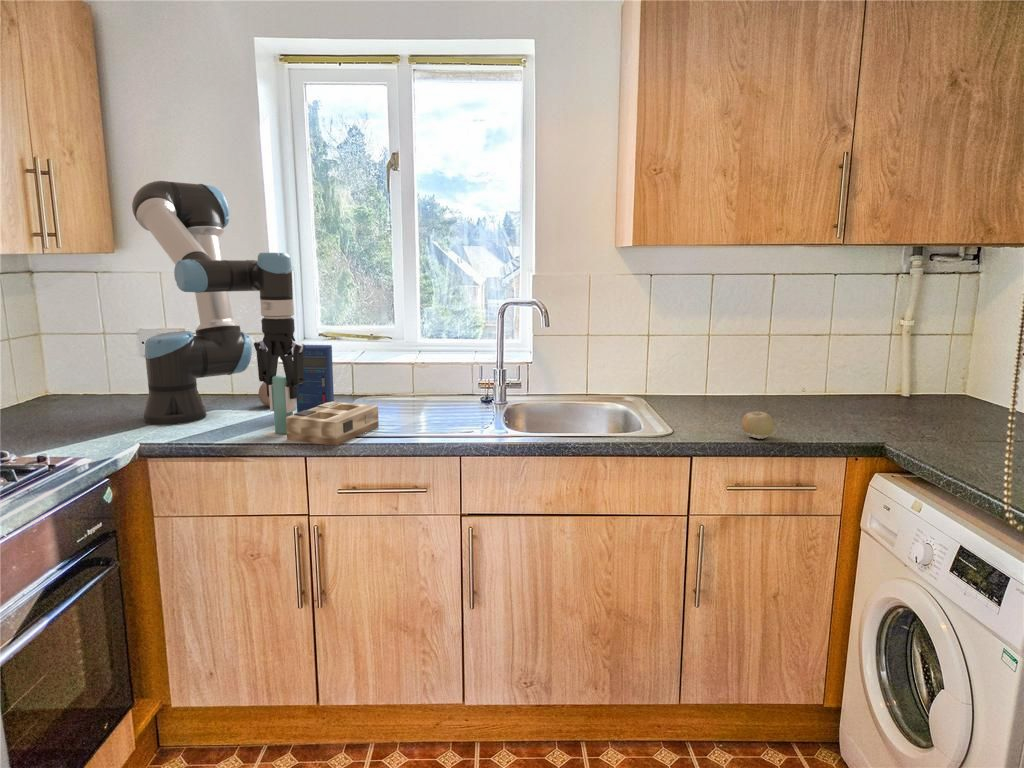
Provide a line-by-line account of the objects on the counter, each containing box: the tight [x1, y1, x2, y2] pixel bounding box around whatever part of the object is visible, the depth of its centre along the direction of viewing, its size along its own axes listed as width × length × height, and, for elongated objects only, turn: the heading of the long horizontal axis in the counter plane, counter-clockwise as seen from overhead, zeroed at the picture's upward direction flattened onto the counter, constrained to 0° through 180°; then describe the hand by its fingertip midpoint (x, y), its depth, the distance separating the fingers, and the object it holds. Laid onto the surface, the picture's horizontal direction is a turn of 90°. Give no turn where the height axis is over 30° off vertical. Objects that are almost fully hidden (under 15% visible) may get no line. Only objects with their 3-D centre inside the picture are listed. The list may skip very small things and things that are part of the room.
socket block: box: [286, 401, 379, 447], centre depth 162 cm, size 14×19×6 cm
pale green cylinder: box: [272, 374, 294, 434], centre depth 161 cm, size 4×4×14 cm
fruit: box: [741, 408, 774, 436], centre depth 165 cm, size 8×7×8 cm
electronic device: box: [295, 344, 335, 413], centre depth 179 cm, size 10×5×20 cm, turn 91°
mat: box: [260, 429, 287, 439], centre depth 162 cm, size 8×8×1 cm
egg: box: [257, 381, 270, 408], centre depth 191 cm, size 7×7×8 cm
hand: (283, 410), depth 161 cm, fingers closed on pale green cylinder, 4 cm apart
